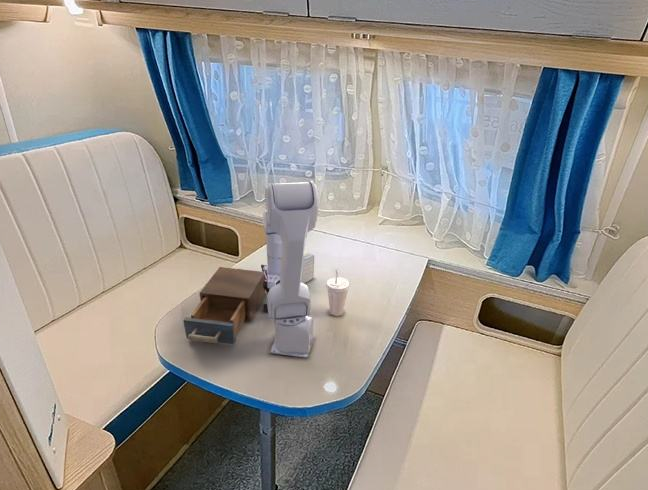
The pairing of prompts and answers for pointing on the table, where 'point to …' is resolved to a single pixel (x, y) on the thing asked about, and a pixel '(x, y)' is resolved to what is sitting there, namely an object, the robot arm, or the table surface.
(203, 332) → the drawer
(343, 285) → the smoothie
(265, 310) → the remote
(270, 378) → the table surface
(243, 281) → the cabinet
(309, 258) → the medicine box
